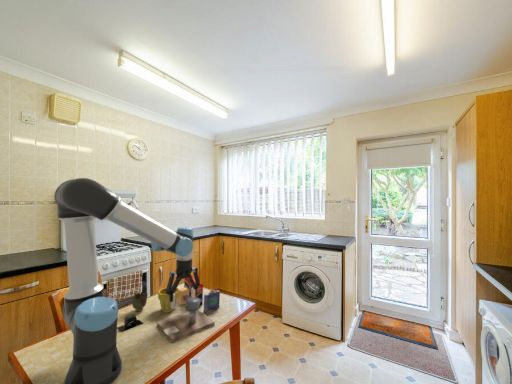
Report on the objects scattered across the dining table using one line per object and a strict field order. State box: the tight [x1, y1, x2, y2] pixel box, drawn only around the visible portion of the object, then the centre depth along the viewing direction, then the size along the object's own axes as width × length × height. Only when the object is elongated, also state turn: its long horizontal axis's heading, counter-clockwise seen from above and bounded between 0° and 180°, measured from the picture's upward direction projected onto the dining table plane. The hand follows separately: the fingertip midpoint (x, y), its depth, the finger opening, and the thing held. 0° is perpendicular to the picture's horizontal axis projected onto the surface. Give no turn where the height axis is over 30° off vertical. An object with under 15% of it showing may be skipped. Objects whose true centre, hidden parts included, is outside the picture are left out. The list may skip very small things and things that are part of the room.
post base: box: [156, 309, 216, 343], centre depth 106 cm, size 20×17×8 cm
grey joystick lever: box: [177, 287, 201, 312], centre depth 109 cm, size 15×6×6 cm, turn 43°
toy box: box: [183, 275, 204, 306], centre depth 133 cm, size 18×4×12 cm, turn 37°
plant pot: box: [157, 286, 179, 313], centre depth 121 cm, size 10×10×10 cm
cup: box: [131, 292, 149, 313], centre depth 119 cm, size 8×7×8 cm
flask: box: [203, 288, 221, 314], centre depth 122 cm, size 9×3×11 cm, turn 132°
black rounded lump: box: [117, 314, 144, 333], centre depth 105 cm, size 12×7×5 cm, turn 141°
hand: (183, 304), depth 113 cm, fingers open, 10 cm apart
